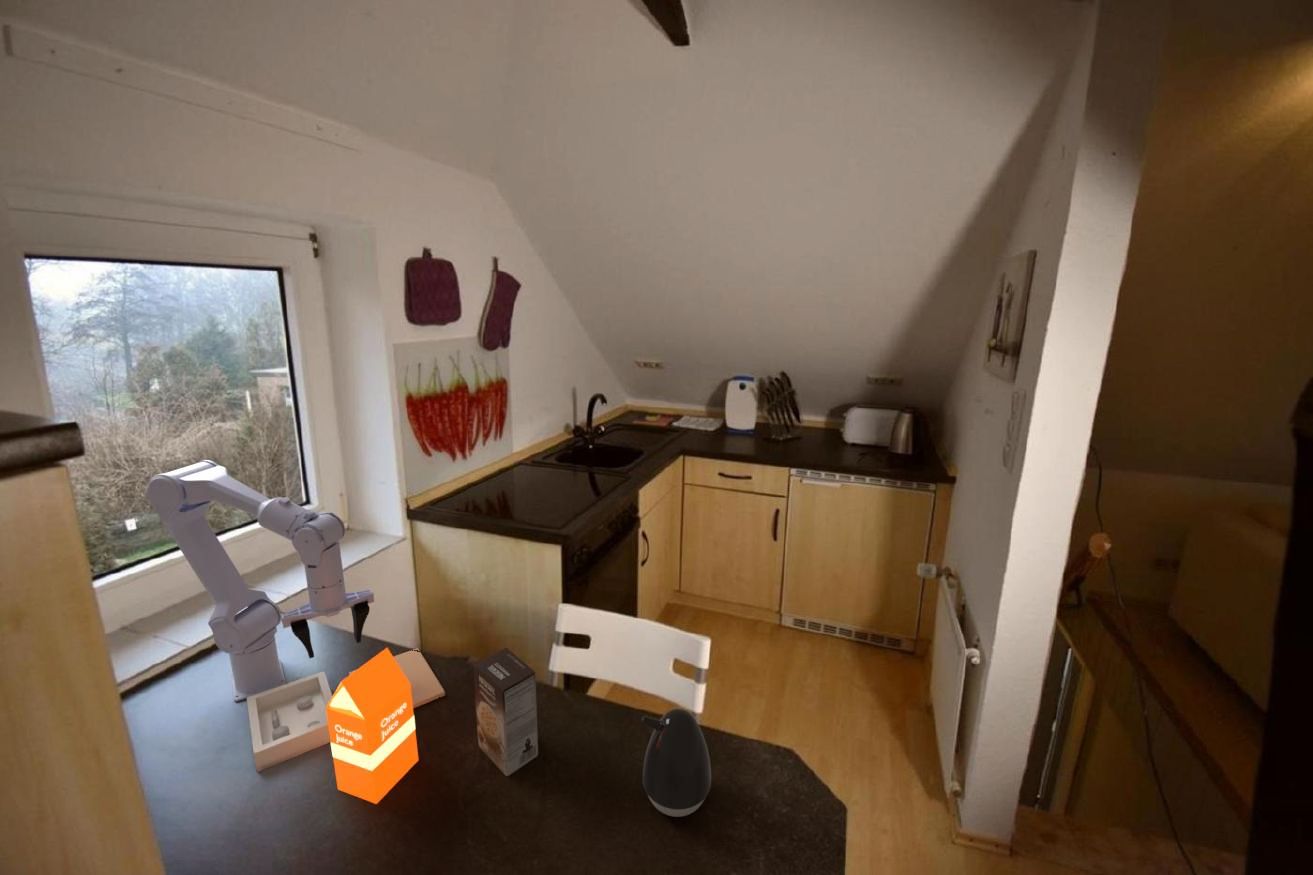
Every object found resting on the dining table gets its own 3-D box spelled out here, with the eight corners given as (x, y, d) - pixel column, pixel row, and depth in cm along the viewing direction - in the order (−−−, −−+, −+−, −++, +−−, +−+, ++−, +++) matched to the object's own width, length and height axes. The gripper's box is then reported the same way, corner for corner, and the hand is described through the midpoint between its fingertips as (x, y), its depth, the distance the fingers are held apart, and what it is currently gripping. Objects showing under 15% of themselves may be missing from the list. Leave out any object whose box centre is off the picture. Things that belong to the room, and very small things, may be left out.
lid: (349, 678, 111) (346, 656, 109) (418, 653, 118) (416, 633, 117) (370, 728, 98) (366, 705, 97) (445, 697, 106) (443, 675, 104)
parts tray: (249, 714, 100) (246, 697, 99) (326, 686, 107) (323, 671, 107) (257, 772, 88) (253, 753, 87) (342, 737, 95) (340, 719, 95)
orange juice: (419, 760, 91) (408, 651, 86) (376, 804, 83) (361, 688, 78) (381, 747, 93) (368, 641, 89) (336, 789, 85) (319, 675, 80)
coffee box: (476, 747, 94) (470, 663, 90) (509, 726, 98) (505, 646, 94) (506, 778, 88) (501, 690, 84) (540, 755, 92) (537, 670, 88)
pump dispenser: (642, 770, 90) (643, 688, 86) (707, 772, 89) (711, 690, 86) (638, 828, 80) (639, 738, 76) (712, 831, 79) (716, 741, 76)
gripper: (280, 603, 93) (291, 673, 97) (374, 577, 102) (382, 643, 106) (275, 586, 99) (286, 653, 102) (366, 563, 108) (373, 626, 111)
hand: (335, 647), depth 104 cm, fingers open, 7 cm apart
